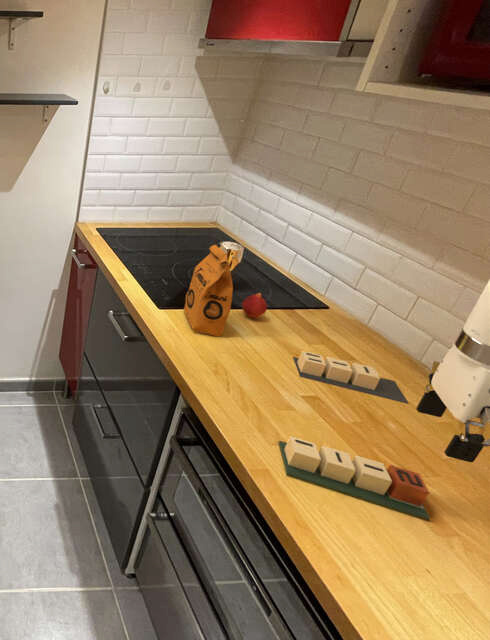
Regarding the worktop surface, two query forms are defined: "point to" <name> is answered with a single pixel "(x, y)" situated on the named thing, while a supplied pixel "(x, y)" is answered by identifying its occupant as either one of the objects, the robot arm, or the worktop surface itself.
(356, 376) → the word board
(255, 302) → the onion
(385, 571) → the worktop surface
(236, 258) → the beer glass
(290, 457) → the word board
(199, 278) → the coffee package
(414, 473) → the orange cube
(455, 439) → the robot arm
